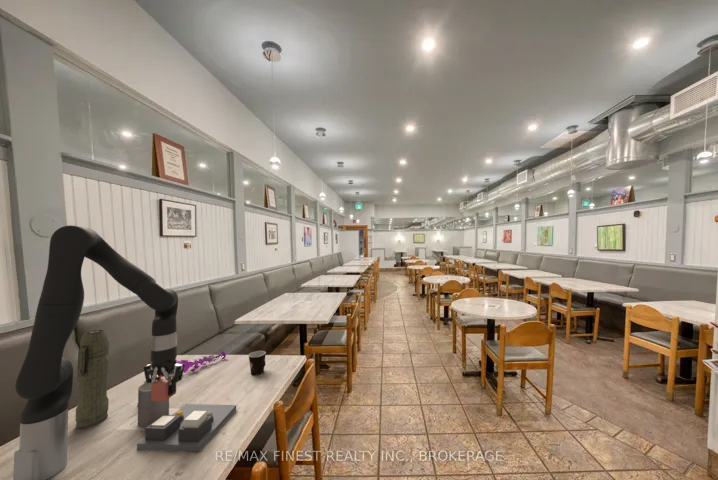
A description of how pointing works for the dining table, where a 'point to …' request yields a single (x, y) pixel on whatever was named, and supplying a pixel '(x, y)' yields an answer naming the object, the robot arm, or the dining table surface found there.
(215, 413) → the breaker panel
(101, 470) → the dining table surface
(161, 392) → the cap
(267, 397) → the dining table surface
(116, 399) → the dining table surface
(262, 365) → the coffee mug
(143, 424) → the pillar candle
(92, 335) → the thermos
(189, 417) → the block
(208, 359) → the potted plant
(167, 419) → the button
